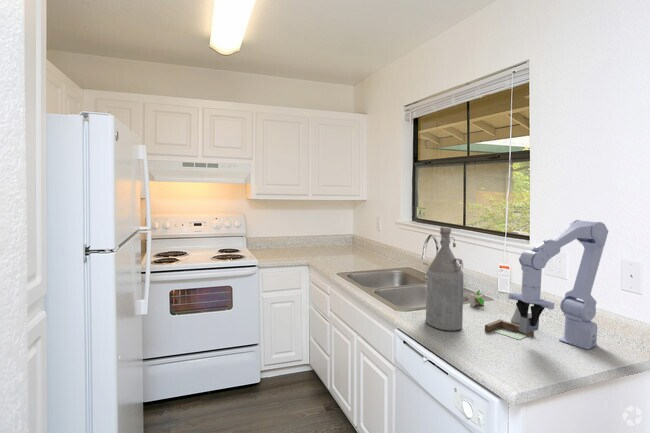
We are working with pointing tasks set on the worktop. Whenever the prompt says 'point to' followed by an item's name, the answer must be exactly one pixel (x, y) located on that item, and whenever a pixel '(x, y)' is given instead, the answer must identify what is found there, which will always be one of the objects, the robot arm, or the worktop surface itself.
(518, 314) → the flask
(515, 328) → the grey and brown piece
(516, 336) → the pad
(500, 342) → the worktop surface
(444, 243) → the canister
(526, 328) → the bracket
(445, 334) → the worktop surface
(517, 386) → the worktop surface
